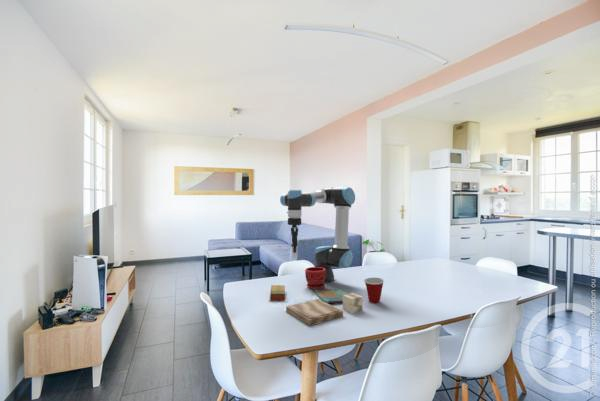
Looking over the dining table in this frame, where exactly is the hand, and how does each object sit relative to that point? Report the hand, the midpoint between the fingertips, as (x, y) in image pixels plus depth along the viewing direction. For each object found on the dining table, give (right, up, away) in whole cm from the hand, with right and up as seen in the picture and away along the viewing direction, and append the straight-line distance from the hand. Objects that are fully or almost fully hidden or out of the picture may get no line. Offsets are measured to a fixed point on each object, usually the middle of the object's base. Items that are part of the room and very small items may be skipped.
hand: (294, 256), depth 162 cm
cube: (+30, -25, -12) cm, 41 cm away
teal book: (+22, -26, +7) cm, 35 cm away
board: (+10, -25, -18) cm, 32 cm away
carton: (-10, -25, +9) cm, 29 cm away
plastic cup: (+44, -25, 0) cm, 51 cm away
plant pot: (+13, -25, +25) cm, 38 cm away
